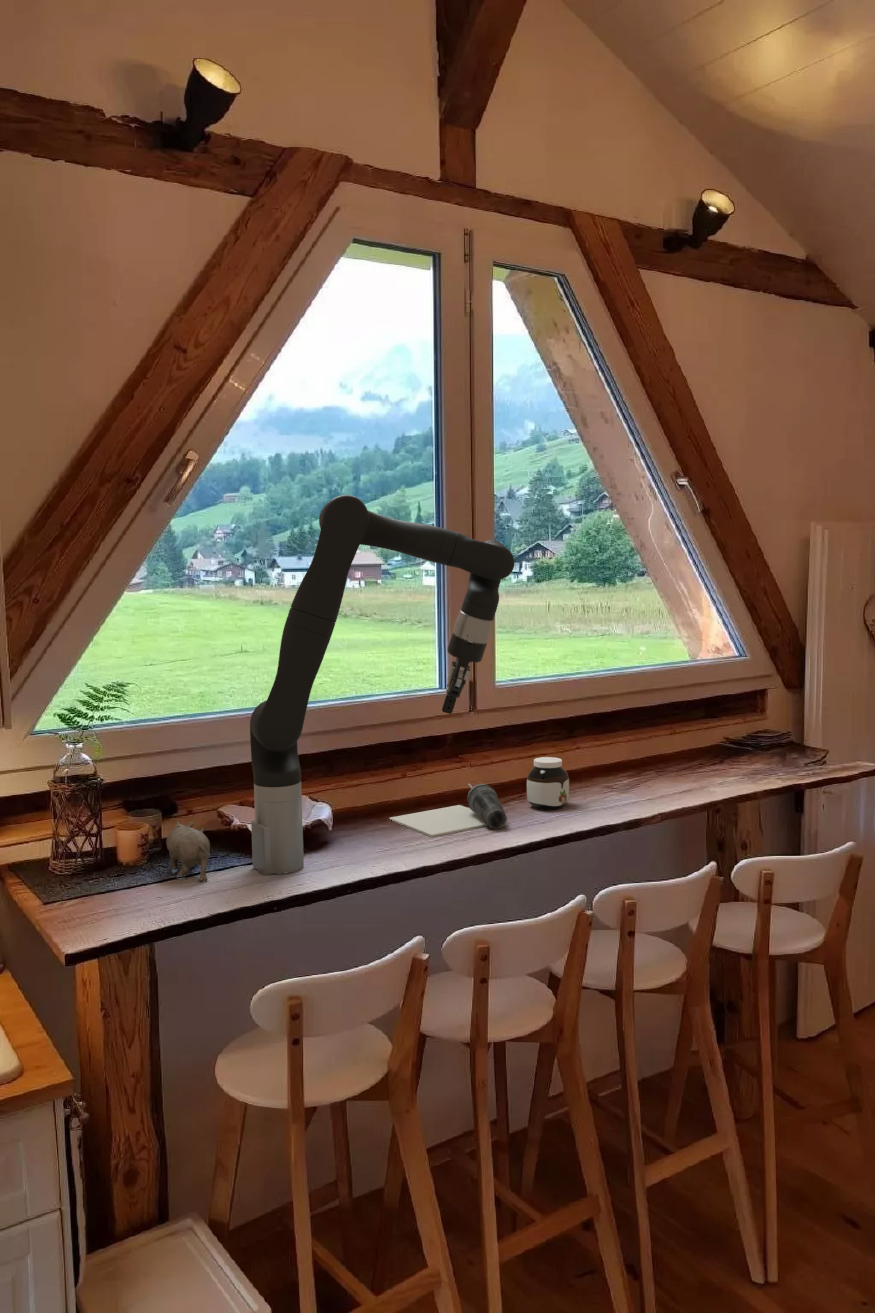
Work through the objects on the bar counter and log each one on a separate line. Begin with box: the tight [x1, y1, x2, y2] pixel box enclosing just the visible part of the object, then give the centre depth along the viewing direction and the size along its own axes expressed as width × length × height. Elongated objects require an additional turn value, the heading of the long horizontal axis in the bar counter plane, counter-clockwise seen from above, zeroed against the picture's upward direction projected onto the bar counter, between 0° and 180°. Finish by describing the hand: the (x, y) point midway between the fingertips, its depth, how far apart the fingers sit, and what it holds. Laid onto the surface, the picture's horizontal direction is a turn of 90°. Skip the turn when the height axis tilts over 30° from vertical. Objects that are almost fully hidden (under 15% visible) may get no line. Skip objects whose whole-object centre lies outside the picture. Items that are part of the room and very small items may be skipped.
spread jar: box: [526, 756, 570, 811], centre depth 245 cm, size 12×11×12 cm
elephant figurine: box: [165, 821, 211, 882], centre depth 196 cm, size 8×14×15 cm
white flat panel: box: [388, 804, 489, 838], centre depth 232 cm, size 20×18×1 cm
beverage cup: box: [467, 783, 507, 830], centre depth 233 cm, size 7×7×20 cm
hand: (446, 711), depth 212 cm, fingers closed
